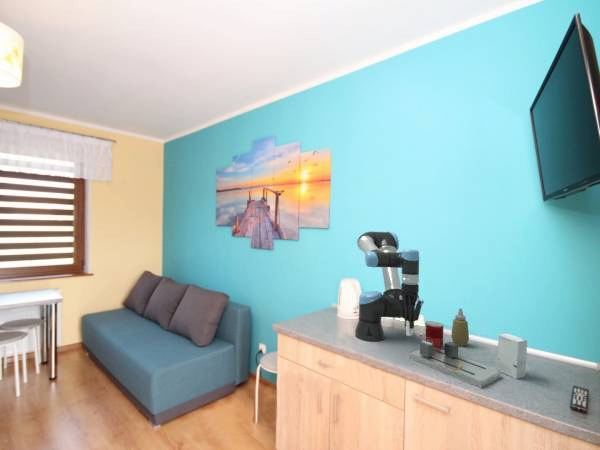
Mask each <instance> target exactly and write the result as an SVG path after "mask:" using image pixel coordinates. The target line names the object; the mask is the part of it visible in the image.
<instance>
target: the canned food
mask: <svg viewBox="0 0 600 450" xmlns="http://www.w3.org/2000/svg"><path fill="white" fill-rule="evenodd" d="M425 341H427V342H430V343H433V344H434V347H436V348H438V349H442V348H443V346H444V324H443V323H441V322H439V321H429V320H428V321H425Z"/></svg>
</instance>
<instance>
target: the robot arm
mask: <svg viewBox="0 0 600 450" xmlns="http://www.w3.org/2000/svg"><path fill="white" fill-rule="evenodd" d="M399 241H400V240H399V237H398V236H397V234H396V232H390V231H366V232H364V233H362V234H361V235H359V237H358V239H357V241H356V243H357V247H358V248H359V250H360V251H361V252H363V253H364V255H365V257H364V261H365V262H364V263H365V265H366V267H367V268H369V267H371V268H381V269H382V270H381V271H382V277H383V283H384V291H383V292H381V291H377V290H376V291H375V290H373V291H372V290H371V291H364V292H361V294H360V295H359V297H358V299H359V300H358V322H357V324H356V328H355V331H354V336H355V337H356V338H357V339H360V340H362V341H368V342H379V341H382V340H384V339H385V332H384V330H383V326H382V318H391V319H392V318H393V319H394V318H395V319H404V327H405V335H406V336H407V337H411V336H413V331H414V330H413V329H415V322H416V321H419V318H420V314H421V310H422V306H423V304H424V303H425V301H424V300H422V299H420V296H419V290H420V285H419V283H420V251H419V250H417V249H408V248H407V249H402V251H399V252H397V251H398V250H399V247H400V244H399ZM398 268H400V269H401V279H400V275H399V269H398Z"/></svg>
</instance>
